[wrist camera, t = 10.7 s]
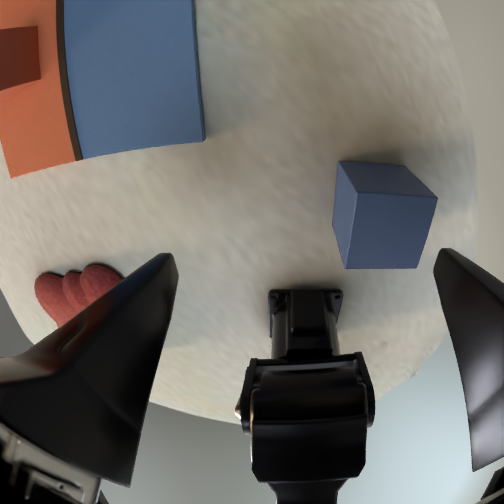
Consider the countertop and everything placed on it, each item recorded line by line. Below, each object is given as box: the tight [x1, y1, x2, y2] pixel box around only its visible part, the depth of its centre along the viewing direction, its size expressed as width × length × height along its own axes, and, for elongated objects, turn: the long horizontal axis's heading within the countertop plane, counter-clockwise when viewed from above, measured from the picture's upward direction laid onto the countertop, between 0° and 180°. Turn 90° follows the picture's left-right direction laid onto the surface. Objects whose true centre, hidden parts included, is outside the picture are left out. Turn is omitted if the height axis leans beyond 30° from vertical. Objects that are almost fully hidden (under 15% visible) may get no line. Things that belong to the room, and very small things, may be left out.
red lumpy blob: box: [35, 265, 122, 328], centre depth 28 cm, size 18×14×2 cm
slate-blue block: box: [332, 161, 438, 269], centre depth 16 cm, size 5×5×5 cm
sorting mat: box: [0, 0, 205, 178], centre depth 12 cm, size 20×20×1 cm
